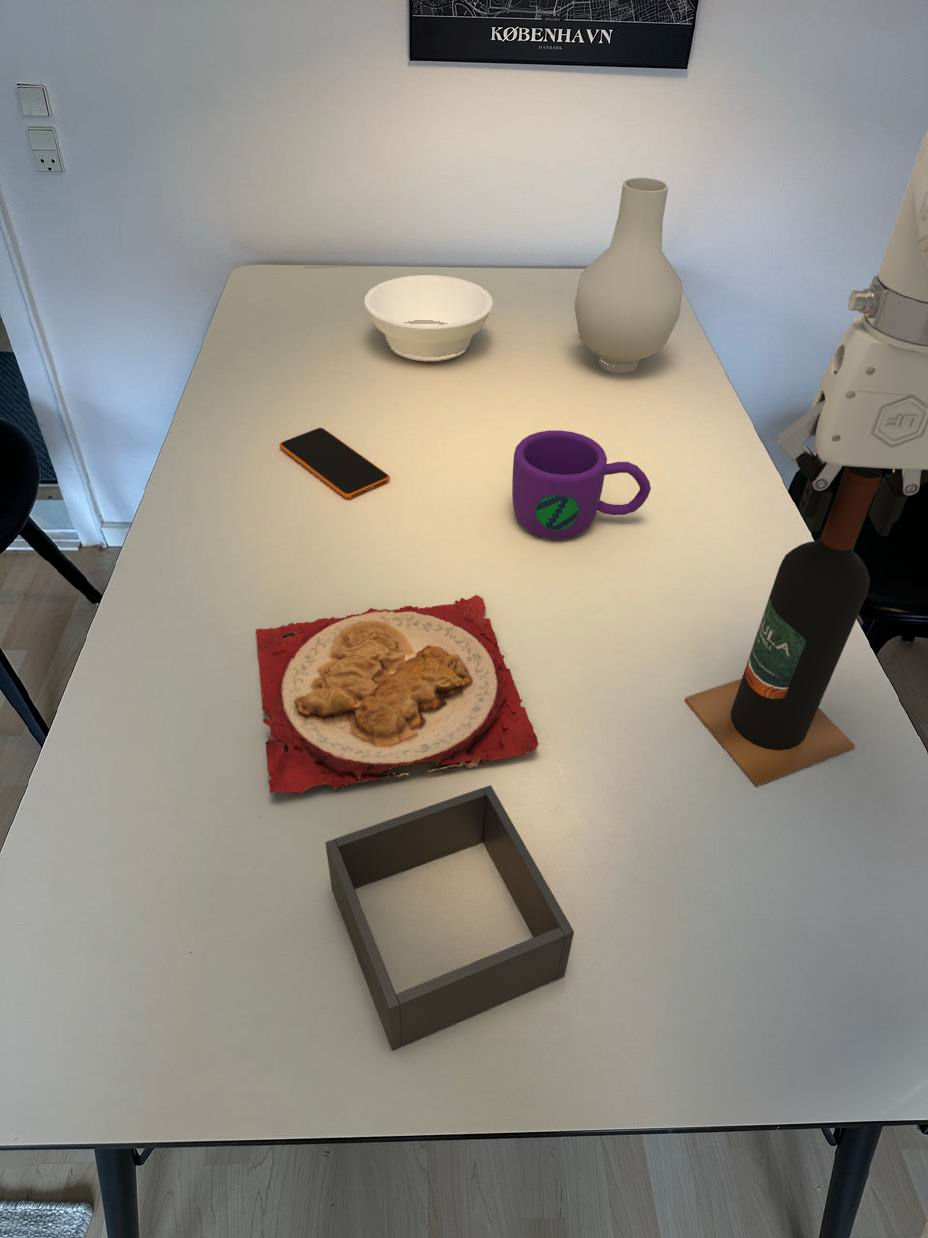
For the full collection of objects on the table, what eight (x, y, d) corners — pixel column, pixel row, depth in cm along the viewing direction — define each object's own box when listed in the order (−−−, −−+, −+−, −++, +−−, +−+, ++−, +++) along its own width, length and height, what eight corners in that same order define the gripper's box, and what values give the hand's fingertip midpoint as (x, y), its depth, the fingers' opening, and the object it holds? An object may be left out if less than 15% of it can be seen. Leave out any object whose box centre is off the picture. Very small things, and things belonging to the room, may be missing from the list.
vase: (656, 341, 156) (687, 167, 137) (679, 387, 144) (717, 203, 125) (561, 342, 155) (579, 166, 136) (576, 388, 143) (598, 202, 124)
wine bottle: (805, 759, 88) (917, 504, 67) (726, 738, 89) (813, 484, 69) (809, 704, 93) (914, 453, 73) (734, 686, 95) (817, 436, 74)
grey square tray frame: (565, 976, 71) (574, 931, 67) (391, 1051, 67) (388, 1009, 62) (487, 832, 81) (491, 784, 76) (331, 889, 77) (325, 841, 72)
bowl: (438, 310, 163) (438, 264, 158) (516, 352, 152) (519, 304, 146) (341, 341, 153) (338, 293, 148) (418, 388, 141) (417, 339, 136)
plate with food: (539, 761, 87) (543, 737, 85) (270, 802, 82) (267, 778, 80) (480, 605, 105) (482, 582, 103) (255, 630, 100) (252, 607, 97)
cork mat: (854, 749, 89) (855, 745, 89) (755, 787, 86) (757, 783, 85) (777, 669, 97) (778, 665, 97) (684, 700, 94) (685, 697, 93)
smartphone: (346, 500, 118) (346, 495, 118) (278, 448, 127) (277, 442, 127) (392, 480, 122) (392, 475, 122) (322, 430, 131) (322, 425, 131)
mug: (508, 543, 113) (513, 475, 106) (510, 491, 121) (515, 425, 114) (647, 551, 112) (661, 484, 105) (640, 499, 121) (652, 433, 114)
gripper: (813, 328, 60) (748, 546, 72) (1073, 340, 59) (963, 557, 72) (789, 283, 65) (733, 492, 78) (1027, 294, 65) (932, 503, 77)
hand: (844, 522), depth 75 cm, fingers open, 4 cm apart
